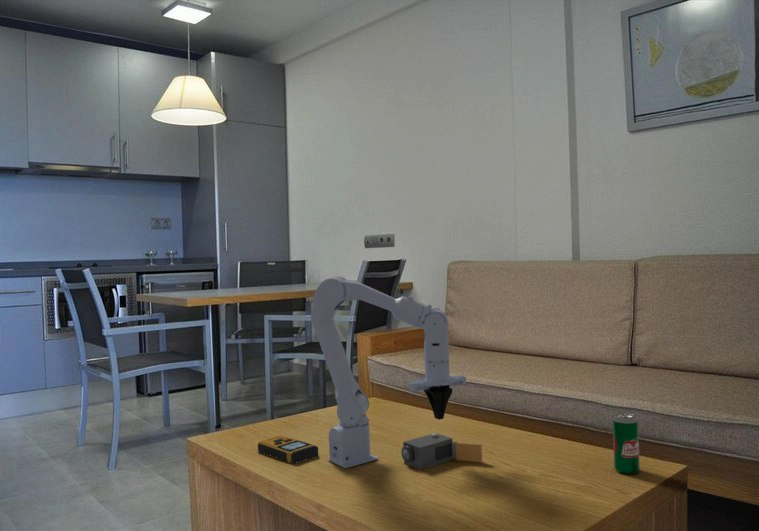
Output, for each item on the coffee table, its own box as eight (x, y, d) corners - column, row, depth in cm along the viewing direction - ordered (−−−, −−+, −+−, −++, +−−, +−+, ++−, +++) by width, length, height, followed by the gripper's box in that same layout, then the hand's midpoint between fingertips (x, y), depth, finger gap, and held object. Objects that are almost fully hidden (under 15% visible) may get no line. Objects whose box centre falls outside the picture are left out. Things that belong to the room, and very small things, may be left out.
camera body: (417, 470, 139) (415, 446, 139) (400, 464, 144) (399, 440, 144) (453, 459, 145) (452, 435, 145) (436, 453, 150) (435, 430, 150)
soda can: (624, 476, 130) (622, 419, 130) (609, 468, 135) (607, 414, 134) (645, 473, 131) (642, 417, 131) (629, 465, 136) (627, 411, 136)
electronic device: (282, 446, 164) (282, 433, 164) (320, 457, 153) (319, 443, 153) (255, 453, 158) (255, 440, 158) (292, 466, 147) (291, 452, 147)
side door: (482, 461, 143) (481, 443, 143) (481, 462, 142) (480, 444, 142) (454, 459, 145) (453, 441, 145) (453, 460, 144) (452, 442, 144)
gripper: (417, 366, 138) (420, 427, 139) (472, 359, 145) (474, 417, 145) (403, 362, 145) (405, 419, 145) (456, 355, 151) (458, 411, 151)
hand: (439, 418), depth 145 cm, fingers closed
